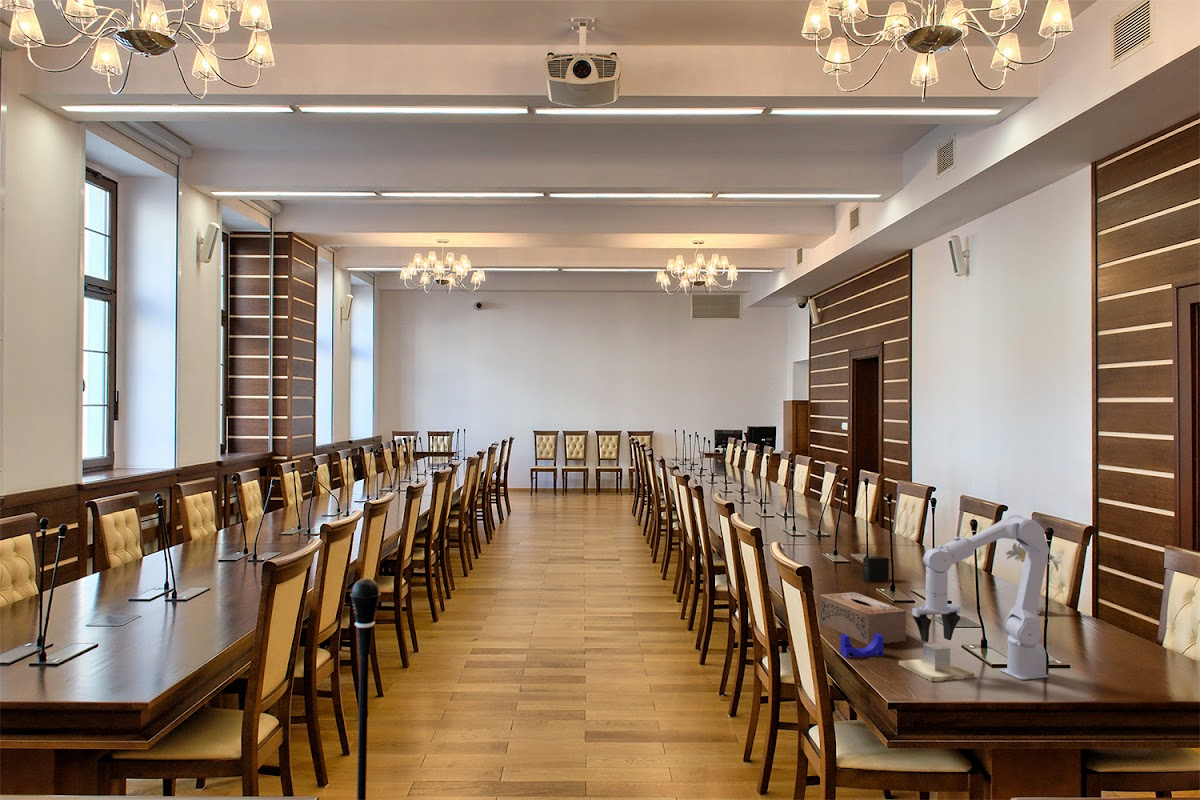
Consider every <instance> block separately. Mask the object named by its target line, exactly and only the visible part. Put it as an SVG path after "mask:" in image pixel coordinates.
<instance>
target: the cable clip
mask: <svg viewBox="0 0 1200 800" xmlns="http://www.w3.org/2000/svg"><path fill="white" fill-rule="evenodd" d="M839 651H840V654H841V653H842V654H843V655H844V656H843V655H842V654H841V655H842V656H843V657H844V658H846V659H851V658H850V657H849V656H851V657H866V658H867V657H884V644H883V636H882V635H881V634H874V638H873V641H872V642H871V644H870V645H866V646H865V647H862V648H857V647H854V646H853V645H852V643H851V639H850V637H849V636H848V635H846V634H842V633H840V650H839ZM877 654H878V655H879V656H878V655H877ZM848 655H849V656H848Z"/></svg>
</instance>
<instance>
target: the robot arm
mask: <svg viewBox="0 0 1200 800" xmlns="http://www.w3.org/2000/svg"><path fill="white" fill-rule="evenodd" d="M1045 531H1046V530H1045V529H1044V528H1043V526H1042V525H1040V523H1039V522H1038V521H1036V520H1034V519H1029V518H1025V517H1022V516H1020V515H1018V514H1014V515H1010V516H1008V517H1007V518H1003V519H1001V520H999V521H998V522H996V523H995V524H992V525H991V526H988V527H987V528H985V529H983V530H982V531H978V533H975V534H974V535H972V536H970V537H965V536H960V537H959V536H954V537H953V538H952V539H953V540H952V541H949V542H947V543H945V544H943V545H942V544H939V545H938V546H937V548H935V547H934V548H933V547H932V548H930V549H928V550H927V551H926V552H925V553H924V555H923V557H922V563H923V564H924V566H925V605H924V606H923V605H922V606H919V607H914V608H912V610H911V613H912V618H913V620H914V621H915V624H916V626H917V628H918V631H919V635H920V640H921V641H923V642H924V643H929V639H930V627H931V624H932V621H933V619H931V618H929V616H937V615H941V619H942V624H943V625H942V627H943V638H944V639H945V640H948V641H951V640H952V637H953V634H954V631H955V628H956V626H957V624H958V623H959V622H960V620H961V607H960V606H959V605H948V597H949V596H948V594H949V593H948V591H949V590H948V588H949V587H948V581H949V578H948V571H949V570H951V569H950V568H951V567H952V565H954V564H957V563H959V562H961V561H963V560H965V559H968V558H970V557H971V556H974V554H975V550H976V549H978V548H980V547H983V546H986V545H988V544H991V543H993V542H996V541H997V540H1000V539H1006V540H1007V539H1010V540H1015V541H1017V542H1018V544H1020V546H1021V547H1022V548H1024V549H1025V550H1026V556H1025V561H1024V562H1023V565H1022V566H1023V567H1022V571H1021V576H1020V580H1019V586H1018V590H1017V596H1016V601H1015V605H1014V606H1013V607H1012V608H1010V610H1009V613H1008V616H1007V617H1006V618H1005V620H1004V622H1003V628H1004V632H1005V633H1006V634H1007V642H1006V643H1007V647H1006V650H1007V652H1006V653H1007V656H1006V659H1007V663H1006V664H1007V665H1006V666H1007V667H1006V668H1005V667H1004V668H999V671H1000V672H1002V673H1004V674H1007V675H1009V676H1011V677H1013V678H1016V679H1018V680H1021V681H1024V680H1034V679H1045V678H1049V675H1048V674H1047V653H1046V649H1045V647H1044V645H1042V643H1040V640H1041V638H1042V632H1041V629H1040V626H1041V625H1040V624H1041V619H1040V617H1039V614H1037V608H1038V603H1039V598H1040V596H1041V592H1042V587H1043V582H1044V577H1045V573H1046V567H1047V564H1046V563H1047V558H1048V554H1049V553H1050V550H1049V549H1050V547H1049V545H1048V542H1047V540H1046V539H1047V538H1046V536H1045Z"/></svg>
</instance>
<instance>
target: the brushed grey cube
mask: <svg viewBox="0 0 1200 800" xmlns="http://www.w3.org/2000/svg"><path fill="white" fill-rule="evenodd" d="M922 659H923V665H924V666H926V667H928V668H930V669H932V670H934V671H940V670H950V662H951V647H948V646H946V645H945V644H942V643H939V642H932V643H931V642H929V643H923V645H922Z"/></svg>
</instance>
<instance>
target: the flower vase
mask: <svg viewBox="0 0 1200 800" xmlns="http://www.w3.org/2000/svg"><path fill="white" fill-rule="evenodd" d="M1049 551H1050V548H1049ZM1006 555H1008V556H1007V557H1006V560H1008V559H1011V558H1013V557H1014V560H1015V561H1018V562H1019V561H1021V563H1024V561H1025V556H1026V550H1025V549H1024V548H1023V547H1022V546H1021V544H1020V543H1018V545H1017V543H1015V542H1014V543H1013V545H1012V549H1011V550H1008V551H1007V552H1006ZM1062 555H1063V551H1061V552H1060V553H1059V554H1058V555H1057V556H1053V555H1052V554H1049V559H1048V558H1047V563H1048V564H1047V563H1046V565H1050V564H1051V563H1050V561H1052V564H1053V565H1054V568H1055V570H1056V572H1059V565H1060V564H1061V563H1062V562H1063V560H1062V558H1061V557H1062ZM1049 560H1050V561H1049ZM1048 561H1049V562H1048ZM1045 603H1046V601H1045V599H1044V597H1042V596H1041V595H1040V598H1039V603H1038V608H1037V614H1038V615H1040V614H1041V611H1043V610H1044V609H1045V608H1046V606H1045Z"/></svg>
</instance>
